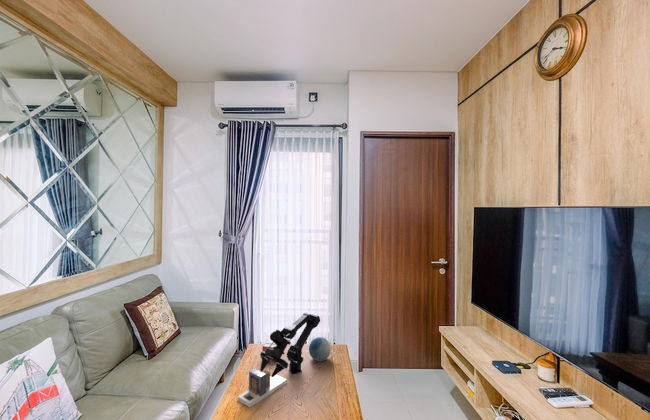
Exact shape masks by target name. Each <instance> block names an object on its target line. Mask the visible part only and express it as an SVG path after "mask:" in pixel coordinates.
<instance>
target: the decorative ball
mask: <svg viewBox="0 0 650 420" xmlns="http://www.w3.org/2000/svg"><path fill="white" fill-rule="evenodd" d="M331 351H332V347H331V344H330V341H329V340H327V338H325V337H321V336H318V337H315V338H314V339H312V340H311V342H310V343H309V346H308V352H309V355H310V357H311V358H312V360H314V361H315V362H316V361H317V362H324V361H326V360H327V359H328V358H329V356H330V354H331Z"/></svg>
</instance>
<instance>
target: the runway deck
mask: <svg viewBox="0 0 650 420" xmlns="http://www.w3.org/2000/svg"><path fill="white" fill-rule="evenodd" d="M287 383H288V379H287V378H284V377H283V376H281V375H279V374H276V375H275V376H274V377H271V376H270V387H268V388H267V389H266V393H265V394H263V395H262V396H259V394H257V395H256V394H254V393H252V391H250V390H249V389H247V390H246V391H244V392H243V393H241V394H239V395H238V396H237V401H239V402H240V403H242V404H243V405H244V406H246V407H248V408H251V407H253V406H254V405H256V404H258V403H259V402H261V401H262V400H264V399H265V398H267V397H268V396H269V395H271V394H272V393H274V392H276V391H277V390H278V389H281V387H283V386H285V385H286V384H287Z"/></svg>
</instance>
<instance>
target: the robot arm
mask: <svg viewBox="0 0 650 420" xmlns="http://www.w3.org/2000/svg"><path fill="white" fill-rule="evenodd" d="M320 323H321V317H320V316H319V315H316V314H314V313H311V314H310V313H309V312H308V313H307V312H303V314H302V315H301V316H300V317H299V318H297V320H295V321H294V322H293V323H292V324H289V325H286V326H285V327H284V328H283V329H281V330H279V329H276V330H274V331H273V332H272V333H270V336H269V340H270V341H273V342H274V343H275V344H276V347H273V349H271V348H267V349H266V352H264V351H261V352H260V353H259V356H260V358H261V366H260V368H259V369H260V370H259V371H261V372H263V371H265V370H264V369H265V368H266V367H267V365H268V364H269V362H270V361H267V360H272V361H274V362H273V363H275V368H274V369H273V372H272V374H271V375H270V377H274V376H275V375H278V374H279V373H280V372H282V371H283V370H285V369H288V370H289V372H290V373H291V374H292V375H294V374H295V375H296V374H298V373H302V372H303V370H302V363H303V362H304V357H303V356H302V355H303V352H302V351H303V347H304V345H305V344H306V341H307V340H308V339H309V336H310V335H311V333H312V331H313V330H314V329H316V327H318V325H319V324H320ZM305 324H306V325H305ZM304 325H305V327H304V328H303V329H302V332H301V334H300V335H299V337H298V339H297V341H296V342H295V344H294V345H291V342H290V341H291V340H293V338H294V337H296V335H297V331H298V330H300V329H301V328H302V327H303V326H304ZM288 345H289V348H288V350H287V353H286V358H287V361H286V360H285V359H283V358H282V356H283V355H285V351H286V348H287V346H288ZM275 359H276V360H275ZM288 361H289V363H288Z"/></svg>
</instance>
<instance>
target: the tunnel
mask: <svg viewBox="0 0 650 420" xmlns="http://www.w3.org/2000/svg"><path fill="white" fill-rule="evenodd" d="M252 377H256V378H258V379H259V396H262V395H263V394H265V393H266V374H265V373H263V371H262V372H261V371H260V370H259V369H257V368H253V369H251V370H249V371H248V390H250V391H252Z"/></svg>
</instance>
